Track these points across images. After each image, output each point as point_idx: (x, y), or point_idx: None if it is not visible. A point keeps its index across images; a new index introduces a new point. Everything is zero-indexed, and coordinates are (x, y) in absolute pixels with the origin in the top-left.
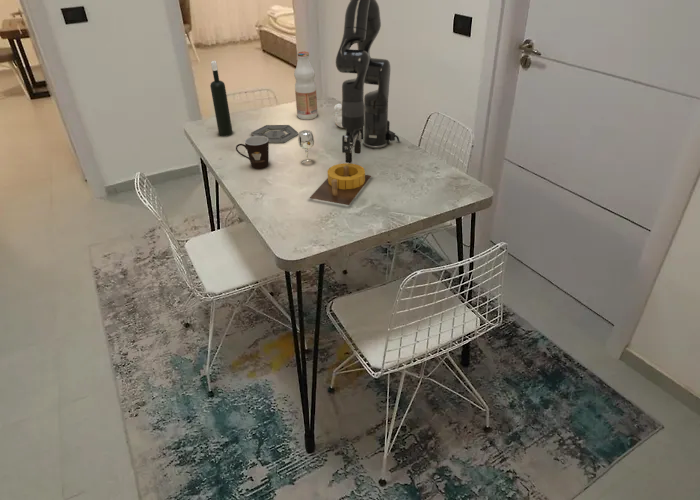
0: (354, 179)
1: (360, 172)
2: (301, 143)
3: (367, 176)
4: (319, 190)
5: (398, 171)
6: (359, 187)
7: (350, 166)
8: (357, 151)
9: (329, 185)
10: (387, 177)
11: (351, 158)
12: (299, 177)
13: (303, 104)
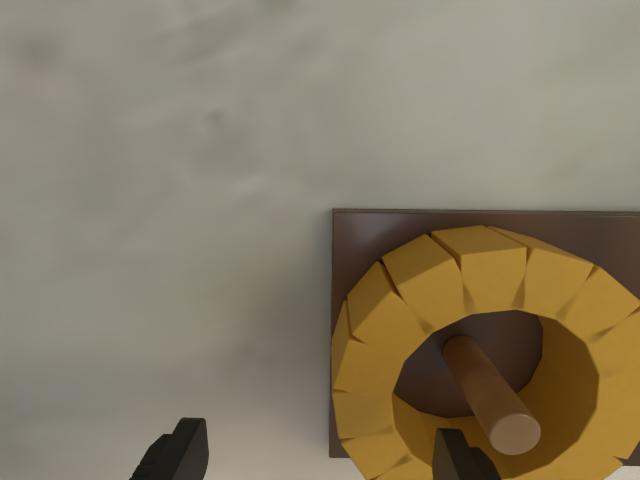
0: (631, 293)
1: (490, 288)
2: None
3: (355, 237)
4: None
5: (140, 35)
6: (546, 235)
7: (391, 400)
8: (197, 454)
9: None
10: (277, 93)
11: (475, 469)
12: None
13: None
